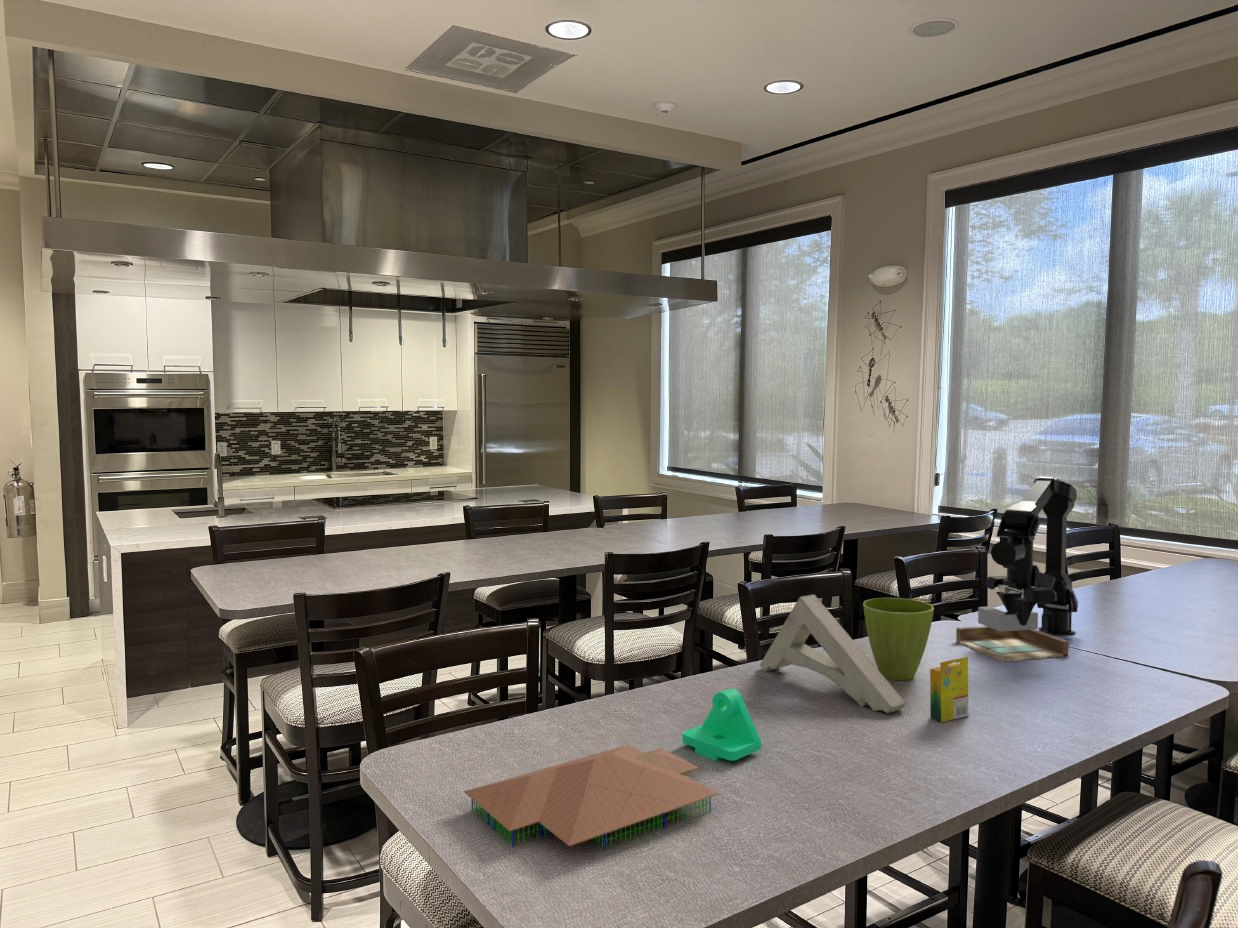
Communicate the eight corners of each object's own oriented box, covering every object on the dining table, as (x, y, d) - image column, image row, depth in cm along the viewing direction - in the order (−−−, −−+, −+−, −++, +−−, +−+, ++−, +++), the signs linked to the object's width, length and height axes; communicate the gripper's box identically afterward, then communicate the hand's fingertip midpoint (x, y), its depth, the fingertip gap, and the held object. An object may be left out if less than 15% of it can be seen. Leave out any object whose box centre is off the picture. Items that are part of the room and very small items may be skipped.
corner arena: (1018, 637, 218) (1018, 623, 218) (1068, 656, 201) (1068, 641, 200) (956, 641, 215) (956, 627, 215) (1001, 661, 197) (1001, 646, 197)
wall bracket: (840, 775, 174) (759, 664, 193) (855, 770, 176) (773, 661, 196) (891, 707, 162) (799, 596, 181) (906, 703, 164) (814, 594, 184)
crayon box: (957, 711, 164) (957, 653, 164) (969, 716, 162) (970, 657, 161) (929, 718, 161) (929, 658, 160) (941, 723, 158) (941, 662, 158)
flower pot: (947, 677, 186) (948, 606, 185) (904, 690, 177) (905, 615, 176) (891, 661, 198) (891, 594, 197) (848, 673, 190) (849, 603, 189)
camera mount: (679, 747, 149) (679, 690, 148) (708, 736, 154) (708, 681, 153) (732, 767, 140) (732, 707, 139) (760, 755, 145) (760, 696, 144)
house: (732, 809, 125) (732, 756, 125) (539, 880, 107) (538, 818, 106) (641, 759, 144) (641, 712, 144) (464, 812, 126) (463, 759, 125)
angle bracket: (1001, 631, 202) (1001, 615, 202) (978, 622, 211) (978, 607, 210) (1037, 629, 204) (1037, 612, 204) (1013, 620, 213) (1013, 604, 212)
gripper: (1076, 565, 196) (1075, 630, 197) (1023, 552, 214) (1022, 612, 215) (1034, 567, 194) (1034, 634, 195) (984, 554, 212) (983, 615, 213)
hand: (1019, 623), depth 204 cm, fingers closed on angle bracket, 3 cm apart
